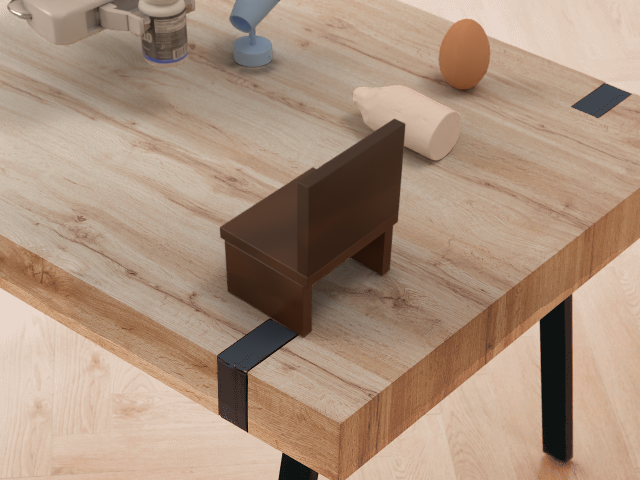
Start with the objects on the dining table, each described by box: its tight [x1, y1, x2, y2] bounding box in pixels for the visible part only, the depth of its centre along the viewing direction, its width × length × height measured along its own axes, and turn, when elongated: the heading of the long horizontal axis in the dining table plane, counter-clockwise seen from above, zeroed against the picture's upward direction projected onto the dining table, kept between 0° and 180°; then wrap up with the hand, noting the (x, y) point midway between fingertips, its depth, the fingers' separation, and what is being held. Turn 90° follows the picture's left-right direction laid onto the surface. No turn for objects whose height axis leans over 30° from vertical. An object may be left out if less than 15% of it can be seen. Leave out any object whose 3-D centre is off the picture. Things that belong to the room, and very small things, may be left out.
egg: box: [438, 18, 491, 90], centre depth 121 cm, size 6×6×8 cm
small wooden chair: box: [219, 119, 406, 338], centre depth 92 cm, size 10×12×16 cm
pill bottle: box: [138, 0, 189, 68], centre depth 110 cm, size 5×5×8 cm
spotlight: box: [228, 0, 281, 68], centre depth 123 cm, size 5×10×7 cm
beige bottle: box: [352, 84, 463, 161], centre depth 113 cm, size 6×12×6 cm, turn 51°
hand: (168, 16), depth 109 cm, fingers closed on pill bottle, 5 cm apart
